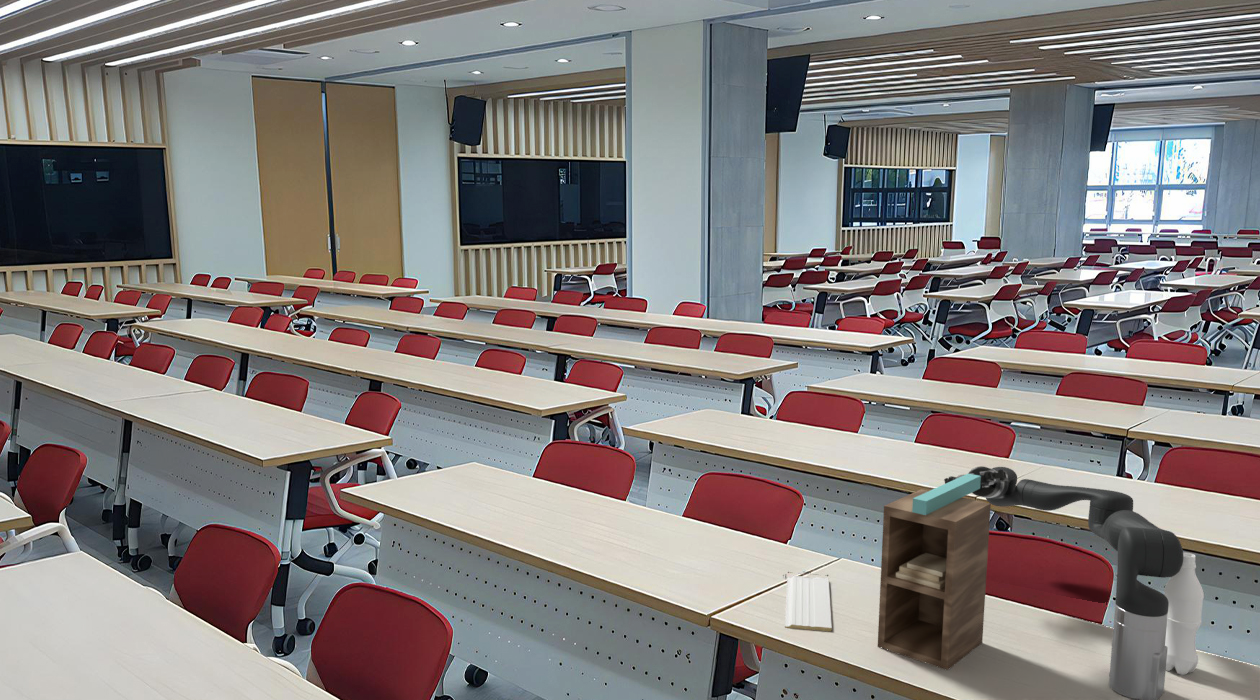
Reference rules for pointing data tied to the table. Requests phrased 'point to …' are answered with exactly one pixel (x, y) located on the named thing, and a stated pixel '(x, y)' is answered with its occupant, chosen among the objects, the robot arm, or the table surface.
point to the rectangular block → (945, 494)
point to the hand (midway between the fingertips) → (968, 478)
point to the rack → (933, 580)
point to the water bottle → (1183, 617)
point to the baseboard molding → (808, 603)
